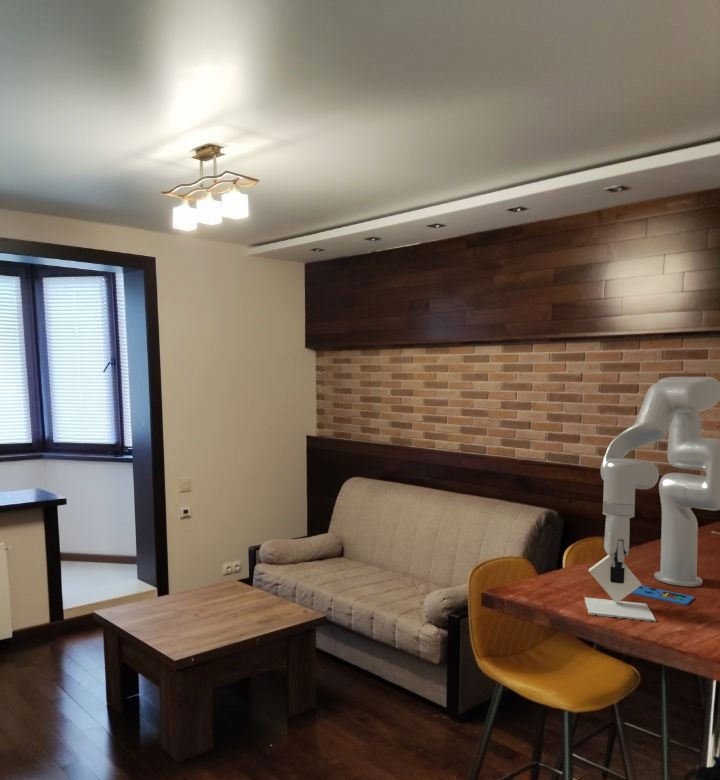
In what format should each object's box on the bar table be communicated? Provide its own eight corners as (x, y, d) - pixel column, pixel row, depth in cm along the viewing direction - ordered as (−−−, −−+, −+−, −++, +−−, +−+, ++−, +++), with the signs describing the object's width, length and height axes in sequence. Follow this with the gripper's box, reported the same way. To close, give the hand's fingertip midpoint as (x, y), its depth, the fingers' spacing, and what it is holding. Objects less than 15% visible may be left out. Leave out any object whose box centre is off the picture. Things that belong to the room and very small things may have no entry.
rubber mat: (584, 599, 165) (584, 597, 165) (646, 606, 162) (646, 603, 162) (589, 614, 154) (589, 612, 154) (655, 622, 150) (655, 619, 150)
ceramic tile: (588, 569, 164) (613, 550, 163) (615, 600, 162) (640, 582, 161) (589, 571, 162) (614, 552, 161) (616, 603, 160) (641, 584, 159)
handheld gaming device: (636, 583, 179) (694, 595, 169) (636, 587, 179) (694, 599, 169) (626, 589, 173) (686, 602, 163) (626, 593, 173) (686, 607, 163)
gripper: (599, 503, 170) (597, 571, 170) (606, 513, 155) (604, 588, 155) (629, 505, 168) (627, 574, 168) (639, 516, 153) (637, 591, 153)
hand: (616, 580), depth 162 cm, fingers closed on ceramic tile, 1 cm apart
